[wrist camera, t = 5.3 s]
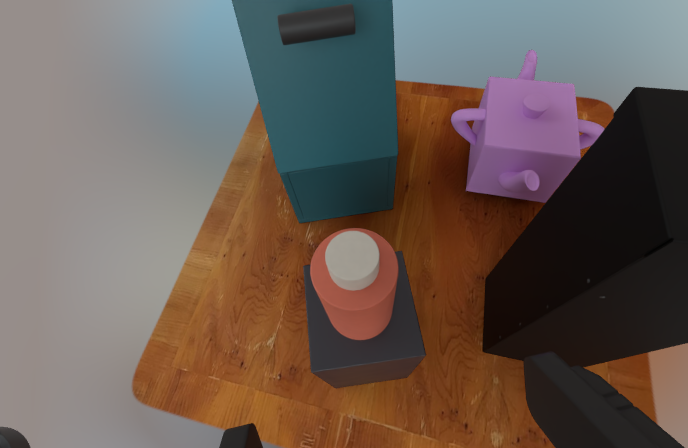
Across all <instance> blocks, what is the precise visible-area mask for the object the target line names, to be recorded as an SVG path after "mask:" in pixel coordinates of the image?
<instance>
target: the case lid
mask: <svg viewBox="0 0 688 448" xmlns="http://www.w3.org/2000/svg"><path fill="white" fill-rule="evenodd" d="M232 3H233V6H234V10H235V14H236V17H237V21H238V25H239V29H240V32H241V36H242V40H243V44H244V48H245V51H246V55H247V59H248V62H249V66H250V70H251V74H252V77H253V81H254V85H255V89H256V92H257V96H258V100H259V104H260V107H261V111H262V115H263V118H264V122H265V126H266V130H267V133H268V137H269V141H270V145H271V148H272V152H273V156H274V159H275V163H276V167H277V171H278V173H285V172H291V171H298V170H304V169H311V168H317V167H324V166H330V165H337V164H343V163H350V162H356V161H363V160H369V159H376V158H382V157H389V156H396V155H398V135H397V109H396V83H395V58H394V31H393V6H392V0H232Z"/></svg>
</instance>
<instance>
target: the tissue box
mask: <svg viewBox="0 0 688 448" xmlns="http://www.w3.org/2000/svg"><path fill="white" fill-rule="evenodd" d="M685 343H688V91H684V90H671V89H657V88H645V87H635V88H634V89H633V90H632V91H631V92H630V94H629V95H628V96H627V97H626V99H625V100H624V101H623V103H622V104H621V105H620V106H619V108H618V109H617V110H616V111H615V113H614V118H613V119H612V121H611V122H610V123H609V125H608V126H607V127H606V128H605V130H604V131H603V132H602V133H601V135H600V136H599V137H598V138H597V140H596V141H595V142H594V143H593V145H592V146H591V147H590V148H589V150H588V151H587V152H586V153H585V155H584V156H583V157H582V158H581V160H580V161H579V162H578V163H577V165H576V166H575V167H574V168H573V170H572V171H571V172H570V173H569V175H568V176H567V177H566V178H565V180H564V181H563V182H562V183H561V185H560V186H559V187H558V189H557V190H556V191H555V192H554V194H553V195H552V196H551V197H550V199H549V200H548V201H547V202H546V204H545V205H544V206H543V207H542V209H541V210H540V211H539V212H538V214H537V215H536V216H535V217H534V219H533V220H532V221H531V222H530V224H529V225H528V226H527V227H526V229H525V230H524V231H523V232H522V234H521V235H520V236H519V237H518V239H517V240H516V241H515V242H514V244H513V245H512V246H511V247H510V249H509V250H508V251H507V253H506V254H505V255H504V256H503V258H502V259H501V260H500V261H499V263H498V264H497V265H496V266H495V268H494V269H493V270H492V271H491V273H490V274H489V275H488V276H487V278H486V281H485V306H484V331H483V352H485V353H489V354H494V355H498V356H503V357H508V358H512V359H517V360H522V361H524V358H525V357H529V356H533V355H537V354H541V353H545V352H549V351H552V352H554V353H556V354H557V355H558V356H559V357H560V358H561V359H562V360H564V361H565V362H566V363H567V364H568V365H569V366H570V367H573V366H577V365H579V366H581V367H587V366H591V365H595V364H599V363H604V362H608V361H612V360H617V359H621V358H625V357H629V356H634V355H638V354H642V353H647V352H651V351H655V350H659V349H664V348H668V347H672V346H676V345H680V344H685Z"/></svg>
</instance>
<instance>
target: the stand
mask: <svg viewBox="0 0 688 448" xmlns="http://www.w3.org/2000/svg"><path fill="white" fill-rule="evenodd" d="M395 254H396V257H397V260H398V278H397V285H396V291H395V298H394V304H393V310H392V316H391V319H390V321H389V323H388V325H387V327H386V328H385V329H384V330H383V331H382V332H381V333H380V334H378V335H377V336H375V337H373V338H370V339H366V340H354V339H350V338H347V337H345V336H343V335H342V334H340V333H339V332H338V331H337V330H336V329H335V328H334V326H333V325H332V323H331V321H330V319H329V317H328V315H327V313H326V311H325V309H324V307H323V304H322V302H321V300H320V298H319V296H318V294H317V292H316V290H315V288H314V286H313V283H312V280H311V274H310V267H311V265H305V266H303V268H304V282H305V295H306V308H307V322H308V335H309V349H310V362H311V372H312V373H313V374H315V375H316V376H318V377H319V378H321V379H322V380H324V381H325V382H327V383H328V384H330V385H331V386H333V387H334V388H340V387H347V386H354V385H361V384H368V383H374V382H381V381H388V380H395V379H401V378H407V377H408V376H409V375H410V374H411V373H412V371H413V370H414V369H415V368H416V367H417V365H418V364H419V363H420V362H421V360H422V359H423V358H424V357H425V356H426V353H425V349H424V344H423V340H422V336H421V331H420V327H419V323H418V318H417V314H416V310H415V305H414V301H413V297H412V293H411V288H410V284H409V280H408V275H407V271H406V267H405V262H404V258H403V254H402V251H398V252H395Z"/></svg>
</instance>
